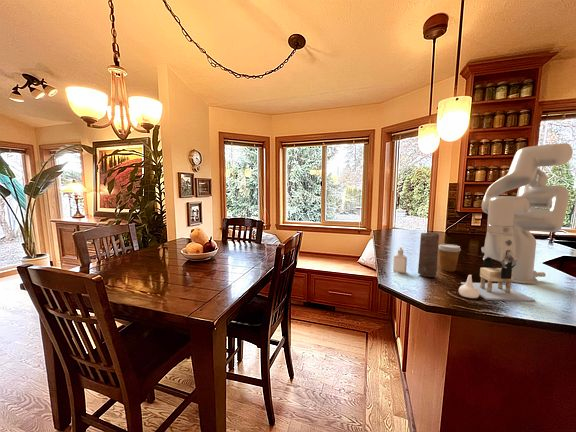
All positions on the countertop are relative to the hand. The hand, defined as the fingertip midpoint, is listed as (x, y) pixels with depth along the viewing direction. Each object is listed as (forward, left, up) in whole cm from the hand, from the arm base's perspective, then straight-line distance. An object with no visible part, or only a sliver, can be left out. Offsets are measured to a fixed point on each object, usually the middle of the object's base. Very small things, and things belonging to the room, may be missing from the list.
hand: (496, 274), depth 97 cm
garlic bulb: (+12, +5, -7) cm, 15 cm away
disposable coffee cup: (+3, -28, -7) cm, 29 cm away
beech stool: (0, 0, -6) cm, 6 cm away
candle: (+18, -16, -7) cm, 25 cm away
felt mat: (0, 0, -7) cm, 7 cm away
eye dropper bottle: (+28, -22, -7) cm, 36 cm away
